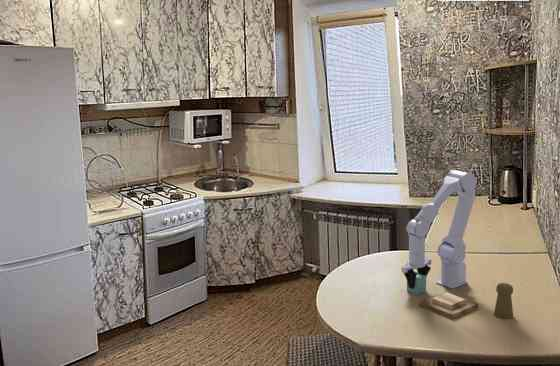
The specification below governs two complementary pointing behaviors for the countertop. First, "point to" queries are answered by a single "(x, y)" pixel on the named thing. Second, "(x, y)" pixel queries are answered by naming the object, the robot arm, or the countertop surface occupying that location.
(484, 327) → the countertop surface
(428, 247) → the countertop surface
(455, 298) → the walnut stand
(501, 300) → the salt shaker
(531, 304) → the countertop surface
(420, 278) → the teal block
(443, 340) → the countertop surface
